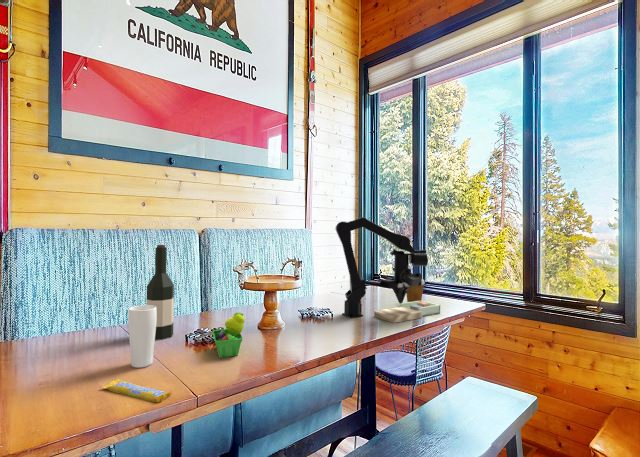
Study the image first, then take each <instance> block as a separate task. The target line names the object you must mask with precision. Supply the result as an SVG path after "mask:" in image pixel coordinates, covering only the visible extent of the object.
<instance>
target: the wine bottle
mask: <svg viewBox="0 0 640 457" xmlns="http://www.w3.org/2000/svg"><path fill="white" fill-rule="evenodd" d="M156 245H157V246H156V247H155V254H154V255H155V256H154V257H155V261H154V262H155V263H154V271H155V272H154V274H153V275H152V277H151V279H150V280H149V282H148V283H147V285H146V305H153V306H156V309H157V323H156V333H155V341H158V340H159V341H160V340H165V339H170V338H172V336H173V335H174V316H175V315H174V314H175V313H174V310H175V308H174V307H175V305H174V303H175V302H174V301H175V300H174V298H175V284H174V283H173V281H172V279H171V277H170V275H168V273H167V255H168V254H167V247H166V244H156Z"/></svg>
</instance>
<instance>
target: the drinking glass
mask: <svg viewBox="0 0 640 457" xmlns="http://www.w3.org/2000/svg"><path fill="white" fill-rule="evenodd" d="M127 314H128V315H127V328H128V339H129V340H128V342H129V350H130V352H129V353H130V366H131V367H132V368H136V369H137V368H138V369H139V368H146V367H149V366H151V365H152V364H153V363H154V354H155V352H154V351H155V341H156V340H155V333H156V323H157V309H156V306H153V305H147V304H144V305H143V304H141V305H135V306H131V307H129V308H128V313H127Z"/></svg>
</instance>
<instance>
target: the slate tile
mask: <svg viewBox="0 0 640 457" xmlns="http://www.w3.org/2000/svg"><path fill="white" fill-rule="evenodd" d="M421 307H424V306H420V305H410V309H412V310H416V311H418V308H421Z"/></svg>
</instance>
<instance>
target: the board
mask: <svg viewBox="0 0 640 457" xmlns="http://www.w3.org/2000/svg"><path fill="white" fill-rule="evenodd" d="M373 314H374V315H373V317H374V318H377V319H380V320H382V321H386V322H389V323H393V324H395V323H400V322H405V321H412V320H417V319H422V317H423V316H422V312H420V311H416V310H412V309H409V308H405V307H400V306H399V307H392V308H385V309H377V310H374V311H373Z"/></svg>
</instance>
